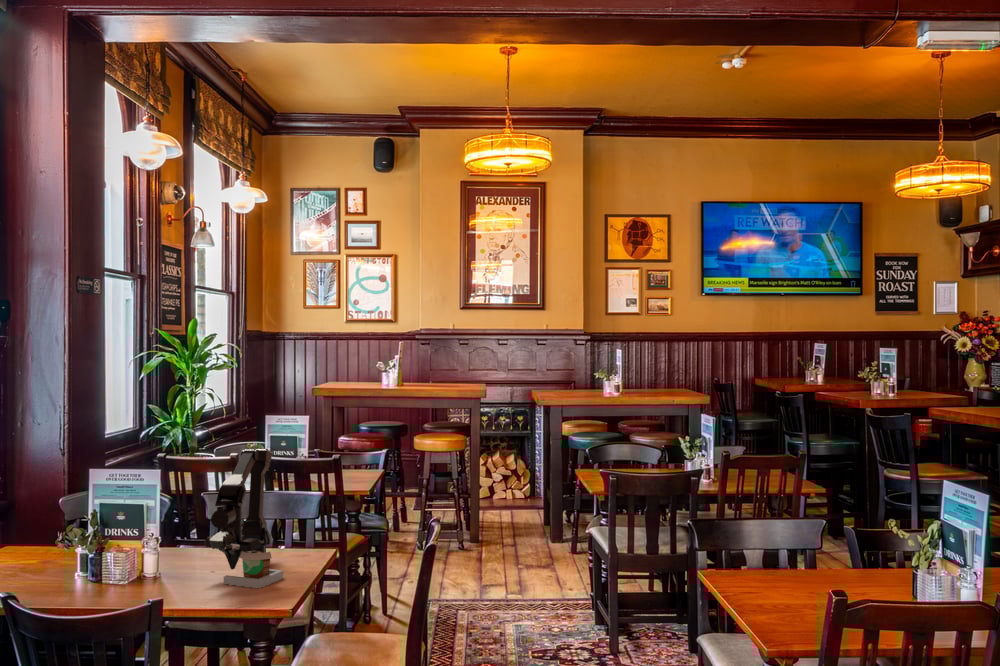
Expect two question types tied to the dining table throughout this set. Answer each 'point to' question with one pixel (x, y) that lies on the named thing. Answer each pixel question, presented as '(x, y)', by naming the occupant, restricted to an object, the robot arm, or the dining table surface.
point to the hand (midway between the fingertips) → (232, 569)
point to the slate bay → (255, 583)
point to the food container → (255, 563)
